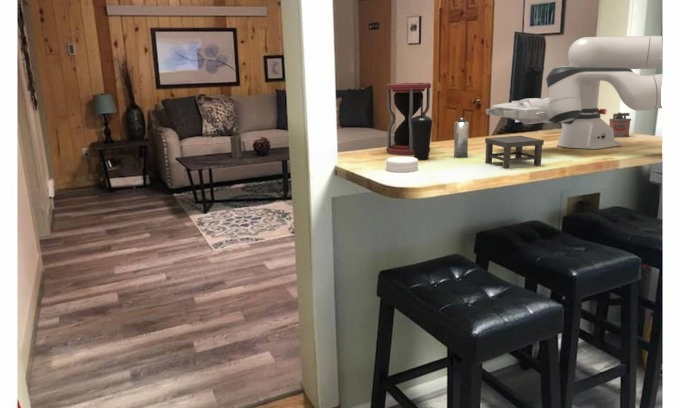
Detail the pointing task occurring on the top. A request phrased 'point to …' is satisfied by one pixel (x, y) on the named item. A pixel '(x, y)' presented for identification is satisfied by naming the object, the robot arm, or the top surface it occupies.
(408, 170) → the coaster
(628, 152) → the top surface
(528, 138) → the stool
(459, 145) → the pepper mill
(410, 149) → the hourglass
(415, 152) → the drinking cup
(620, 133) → the lighter
